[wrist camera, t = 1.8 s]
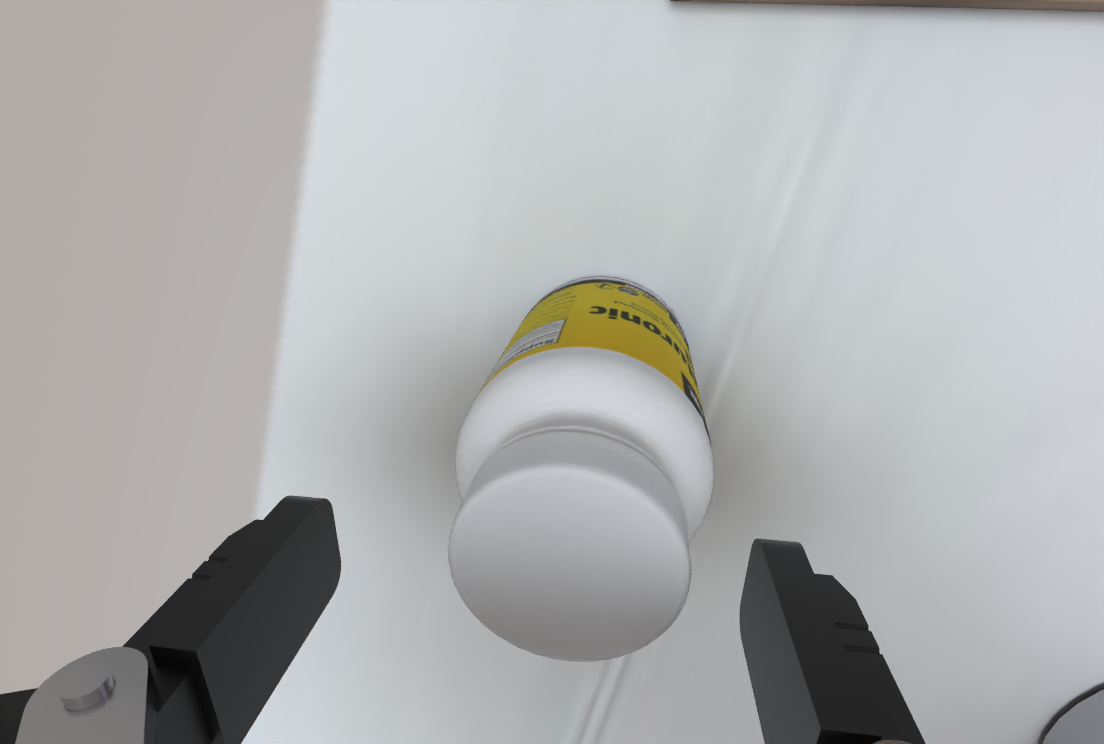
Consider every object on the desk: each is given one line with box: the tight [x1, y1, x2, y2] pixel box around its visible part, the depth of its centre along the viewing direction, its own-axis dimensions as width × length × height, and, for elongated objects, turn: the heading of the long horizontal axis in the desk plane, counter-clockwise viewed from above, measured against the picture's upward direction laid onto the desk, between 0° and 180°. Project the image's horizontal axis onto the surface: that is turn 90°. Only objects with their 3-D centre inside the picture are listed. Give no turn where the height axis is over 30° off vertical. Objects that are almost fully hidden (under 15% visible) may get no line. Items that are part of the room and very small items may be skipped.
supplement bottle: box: [448, 277, 714, 661], centre depth 14 cm, size 6×6×10 cm
